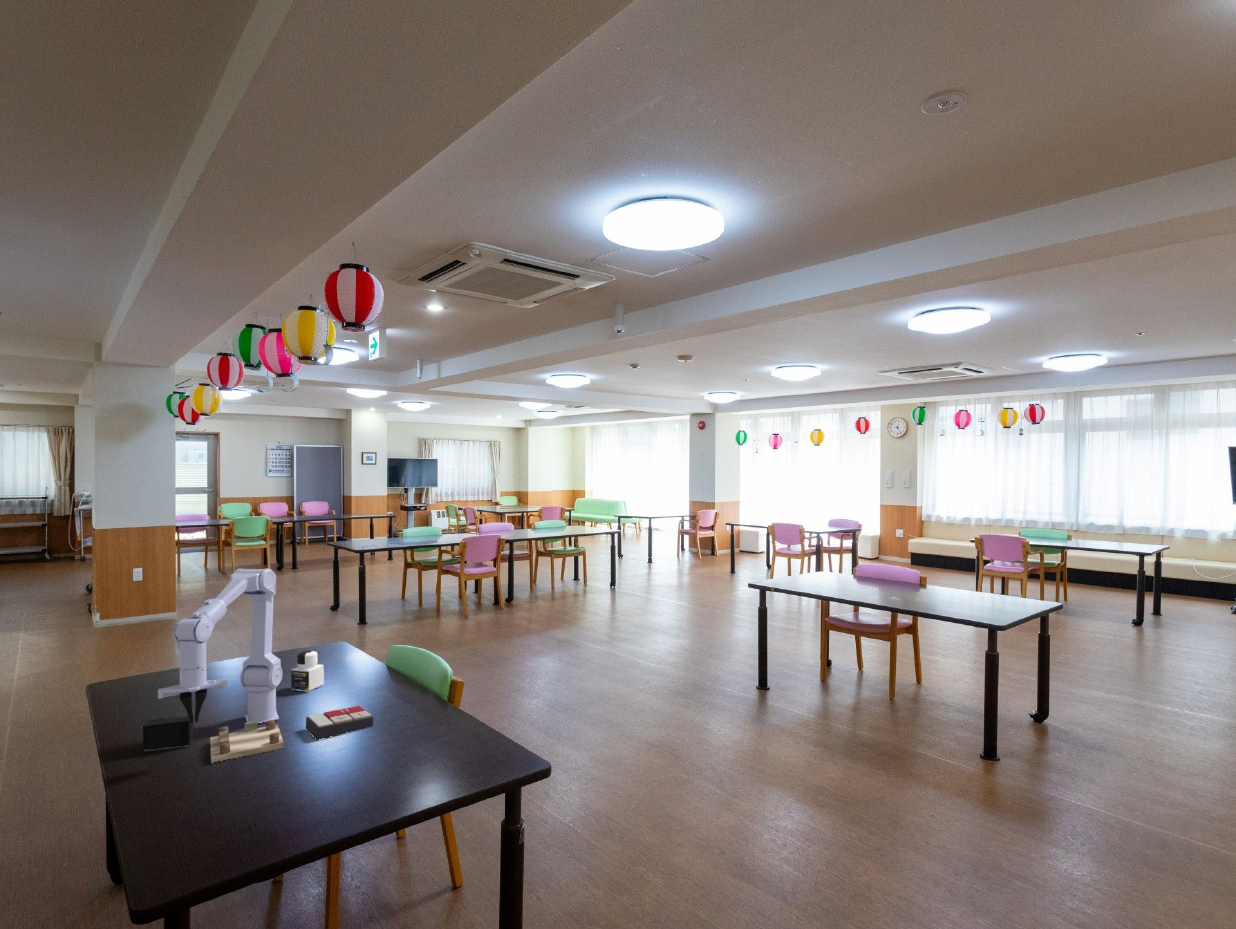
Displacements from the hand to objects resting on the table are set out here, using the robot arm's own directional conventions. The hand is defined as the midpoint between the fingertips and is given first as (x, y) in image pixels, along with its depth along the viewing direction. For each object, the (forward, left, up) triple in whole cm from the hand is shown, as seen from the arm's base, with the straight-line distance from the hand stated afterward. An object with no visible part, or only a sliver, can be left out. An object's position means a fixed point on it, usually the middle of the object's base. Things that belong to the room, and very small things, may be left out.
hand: (193, 721), depth 168 cm
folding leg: (-3, +6, -8) cm, 11 cm away
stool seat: (-2, +12, -9) cm, 15 cm away
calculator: (-1, +34, -10) cm, 36 cm away
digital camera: (-14, -5, -10) cm, 18 cm away
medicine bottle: (-44, +32, -10) cm, 55 cm away
